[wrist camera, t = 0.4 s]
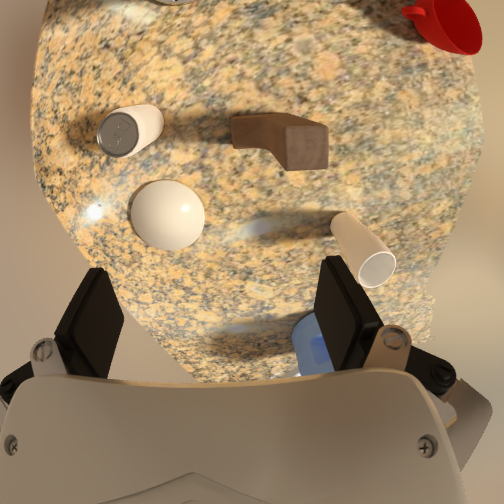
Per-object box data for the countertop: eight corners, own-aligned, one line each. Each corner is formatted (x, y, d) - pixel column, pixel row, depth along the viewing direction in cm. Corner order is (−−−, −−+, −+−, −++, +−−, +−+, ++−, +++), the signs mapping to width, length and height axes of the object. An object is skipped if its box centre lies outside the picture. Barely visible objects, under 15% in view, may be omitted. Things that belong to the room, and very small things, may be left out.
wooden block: (232, 144, 40) (237, 177, 25) (229, 116, 37) (232, 129, 22) (289, 140, 40) (329, 170, 25) (288, 112, 38) (329, 125, 23)
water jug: (329, 350, 71) (358, 438, 47) (280, 344, 67) (300, 446, 43) (361, 311, 63) (406, 406, 40) (309, 301, 59) (348, 414, 36)
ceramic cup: (373, -13, 24) (403, -27, 16) (440, 4, 24) (472, -1, 15) (390, 49, 31) (425, 44, 23) (453, 58, 31) (488, 61, 22)
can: (118, 130, 36) (85, 144, 26) (141, 96, 34) (111, 98, 24) (149, 150, 39) (124, 171, 29) (172, 117, 37) (153, 126, 26)
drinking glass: (327, 207, 47) (363, 252, 35) (360, 207, 48) (402, 249, 35) (323, 239, 51) (352, 290, 38) (354, 238, 51) (389, 286, 39)
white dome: (120, 223, 45) (119, 225, 44) (156, 164, 40) (155, 166, 39) (179, 259, 50) (178, 262, 49) (220, 207, 45) (220, 210, 45)
